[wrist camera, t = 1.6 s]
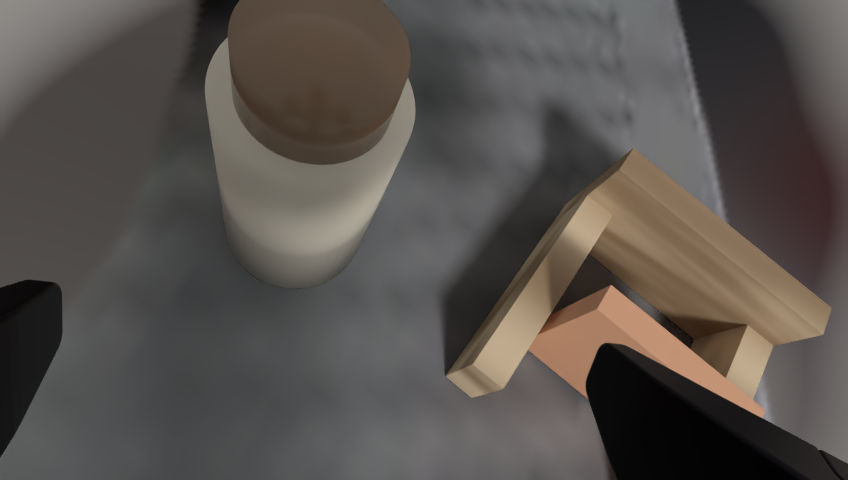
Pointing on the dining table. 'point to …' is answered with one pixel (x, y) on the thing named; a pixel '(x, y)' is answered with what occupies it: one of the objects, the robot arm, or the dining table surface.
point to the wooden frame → (650, 280)
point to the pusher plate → (622, 324)
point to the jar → (306, 131)
